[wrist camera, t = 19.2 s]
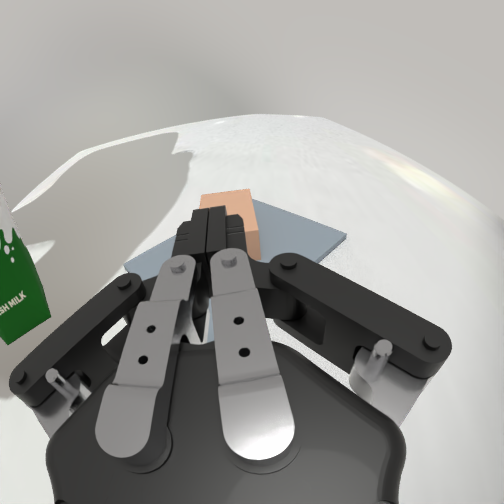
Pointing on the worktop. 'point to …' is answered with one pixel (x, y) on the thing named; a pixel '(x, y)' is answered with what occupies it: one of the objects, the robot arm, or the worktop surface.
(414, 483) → the worktop surface
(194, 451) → the robot arm
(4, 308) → the milk carton
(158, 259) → the mat
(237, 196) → the terracotta block
